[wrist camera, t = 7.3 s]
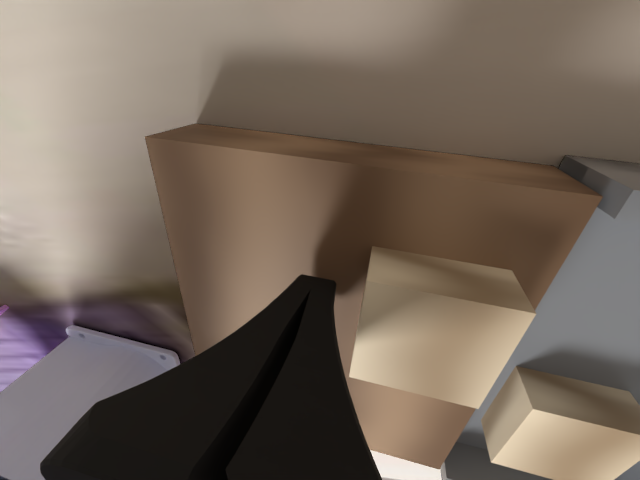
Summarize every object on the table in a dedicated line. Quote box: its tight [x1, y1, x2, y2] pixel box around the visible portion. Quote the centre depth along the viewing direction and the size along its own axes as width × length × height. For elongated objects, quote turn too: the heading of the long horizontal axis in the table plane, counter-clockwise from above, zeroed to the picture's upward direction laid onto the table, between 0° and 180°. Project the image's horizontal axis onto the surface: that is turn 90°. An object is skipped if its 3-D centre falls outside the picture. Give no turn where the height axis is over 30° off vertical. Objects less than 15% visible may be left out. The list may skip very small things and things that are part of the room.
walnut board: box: [145, 124, 603, 469], centre depth 14 cm, size 14×16×3 cm
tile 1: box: [481, 366, 640, 480], centre depth 13 cm, size 4×4×2 cm
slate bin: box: [441, 155, 640, 480], centre depth 12 cm, size 9×17×4 cm, turn 176°
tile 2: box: [349, 246, 536, 409], centre depth 10 cm, size 4×4×2 cm
